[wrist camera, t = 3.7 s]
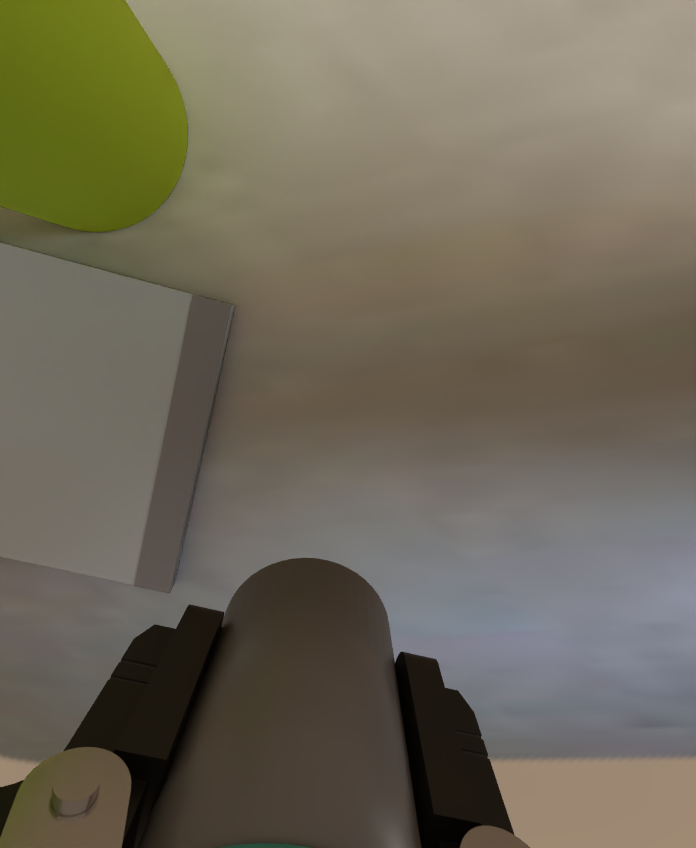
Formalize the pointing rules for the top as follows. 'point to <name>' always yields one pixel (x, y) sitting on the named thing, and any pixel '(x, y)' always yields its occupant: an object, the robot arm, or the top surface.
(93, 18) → the soap dispenser
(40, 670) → the top surface
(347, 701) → the marker
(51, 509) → the notepad
